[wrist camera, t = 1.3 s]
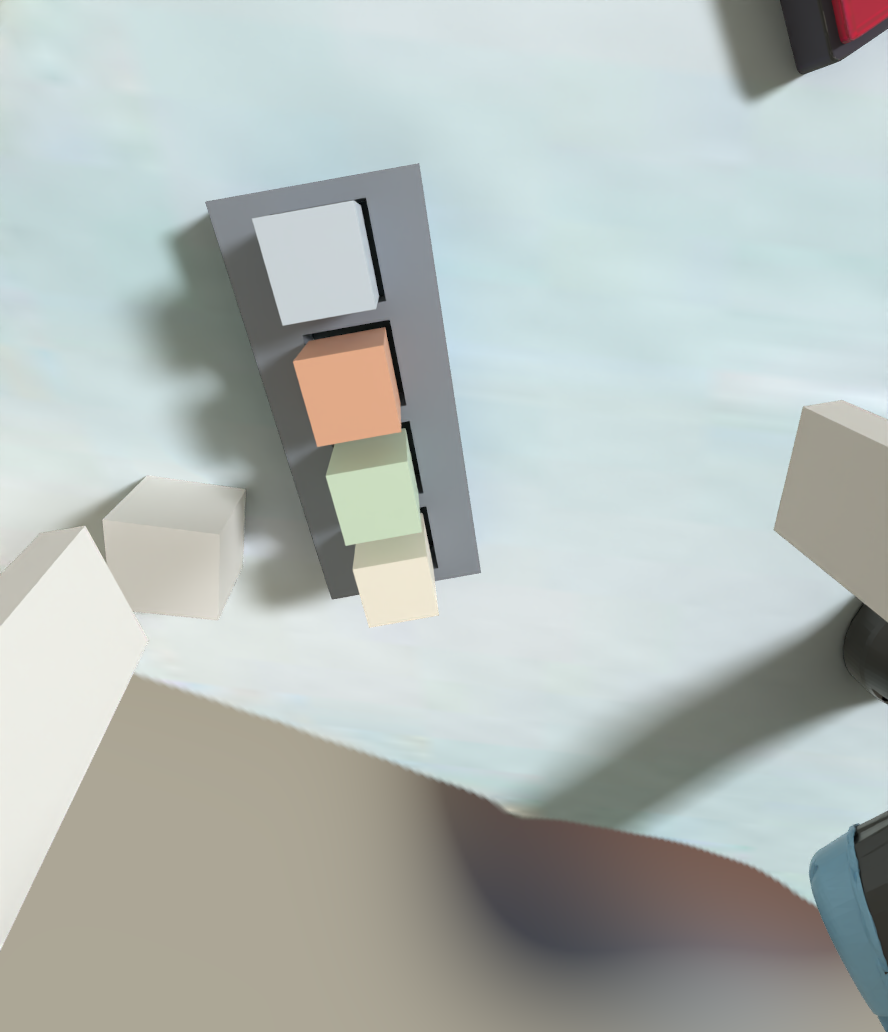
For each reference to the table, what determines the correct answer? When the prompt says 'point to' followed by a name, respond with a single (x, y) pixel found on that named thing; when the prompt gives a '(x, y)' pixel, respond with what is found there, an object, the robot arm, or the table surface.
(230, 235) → the key panel
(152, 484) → the pale grey cube
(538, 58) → the table surface
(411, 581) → the key ivory
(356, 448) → the key green
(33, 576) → the robot arm
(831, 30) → the calculator
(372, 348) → the key terracotta
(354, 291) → the key bluegrey
